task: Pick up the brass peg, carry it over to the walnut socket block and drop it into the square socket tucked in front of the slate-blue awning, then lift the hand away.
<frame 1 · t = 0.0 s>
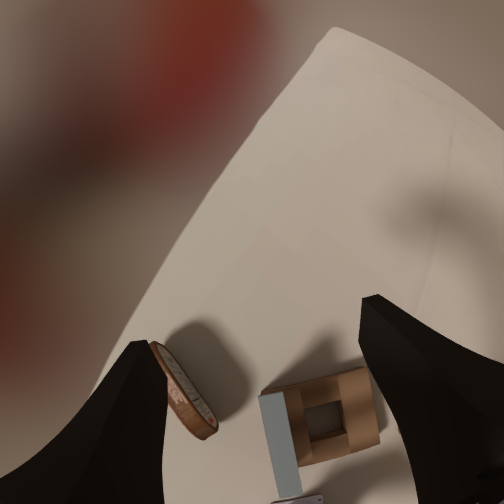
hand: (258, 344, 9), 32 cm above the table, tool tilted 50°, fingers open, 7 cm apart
tin: (188, 387, 38), on the table
socket block: (322, 417, 35), on the table
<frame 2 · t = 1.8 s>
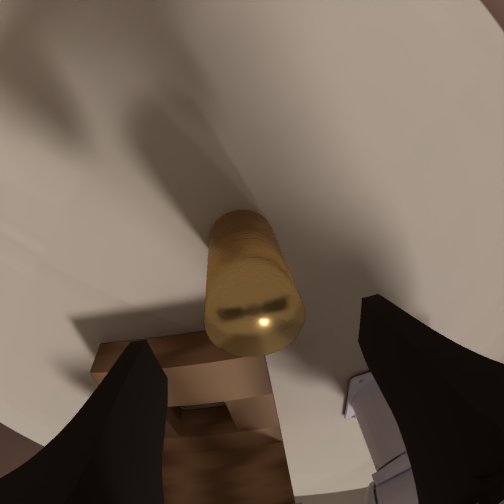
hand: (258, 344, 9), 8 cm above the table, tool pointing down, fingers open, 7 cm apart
socket block: (200, 392, 22), on the table
peg: (241, 240, 16), on the table
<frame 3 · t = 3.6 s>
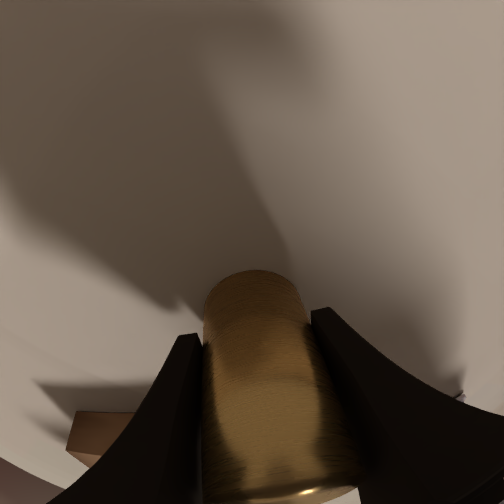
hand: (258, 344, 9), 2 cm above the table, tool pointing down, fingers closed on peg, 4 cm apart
socket block: (199, 458, 17), on the table
peg: (252, 312, 11), on the table, touching gripper
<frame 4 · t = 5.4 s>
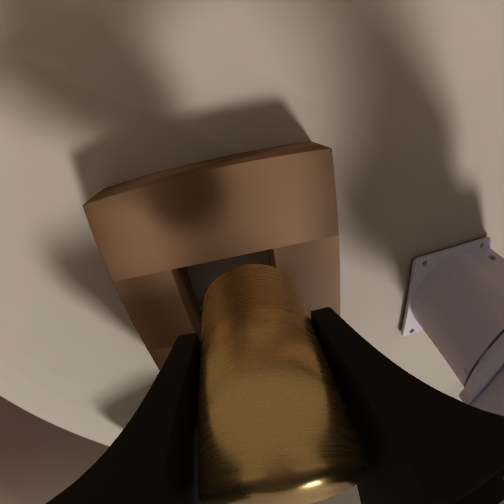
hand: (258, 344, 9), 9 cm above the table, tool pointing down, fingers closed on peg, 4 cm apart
socket block: (230, 272, 18), on the table
peg: (252, 306, 11), point 7 cm above the table, touching gripper
when the fingers open (4 cm above the table, at t = 7.4 s): peg drops 2 cm, resting in socket block.
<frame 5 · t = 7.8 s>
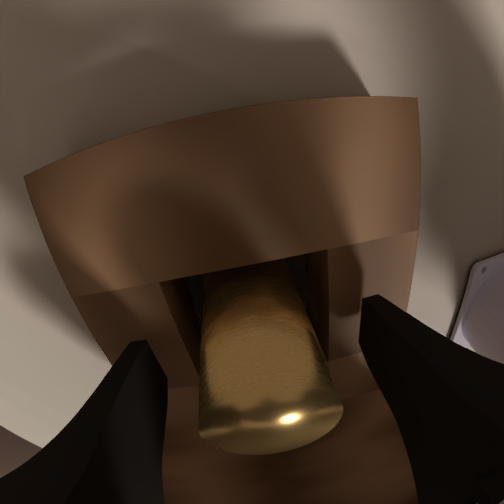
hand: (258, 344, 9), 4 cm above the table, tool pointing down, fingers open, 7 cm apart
socket block: (248, 283, 12), on the table
peg: (247, 279, 12), resting in socket block
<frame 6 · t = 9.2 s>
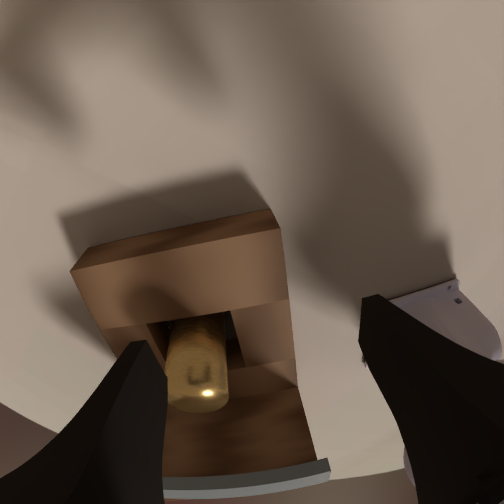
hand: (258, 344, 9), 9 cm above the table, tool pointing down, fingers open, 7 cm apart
socket block: (200, 318, 20), on the table
peg: (199, 316, 20), resting in socket block
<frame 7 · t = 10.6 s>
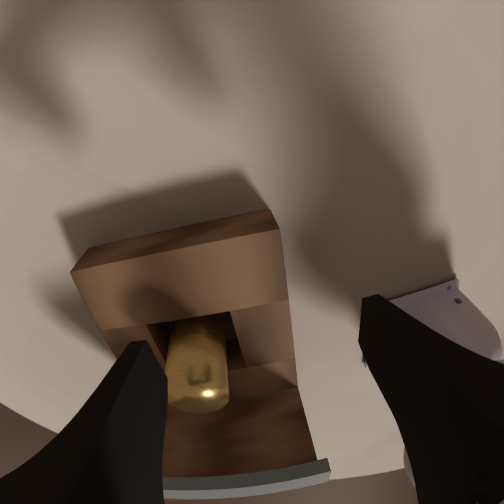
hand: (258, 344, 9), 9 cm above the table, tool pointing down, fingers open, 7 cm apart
socket block: (200, 319, 20), on the table
peg: (199, 316, 20), resting in socket block
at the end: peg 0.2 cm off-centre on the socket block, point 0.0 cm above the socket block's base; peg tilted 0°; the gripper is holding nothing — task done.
